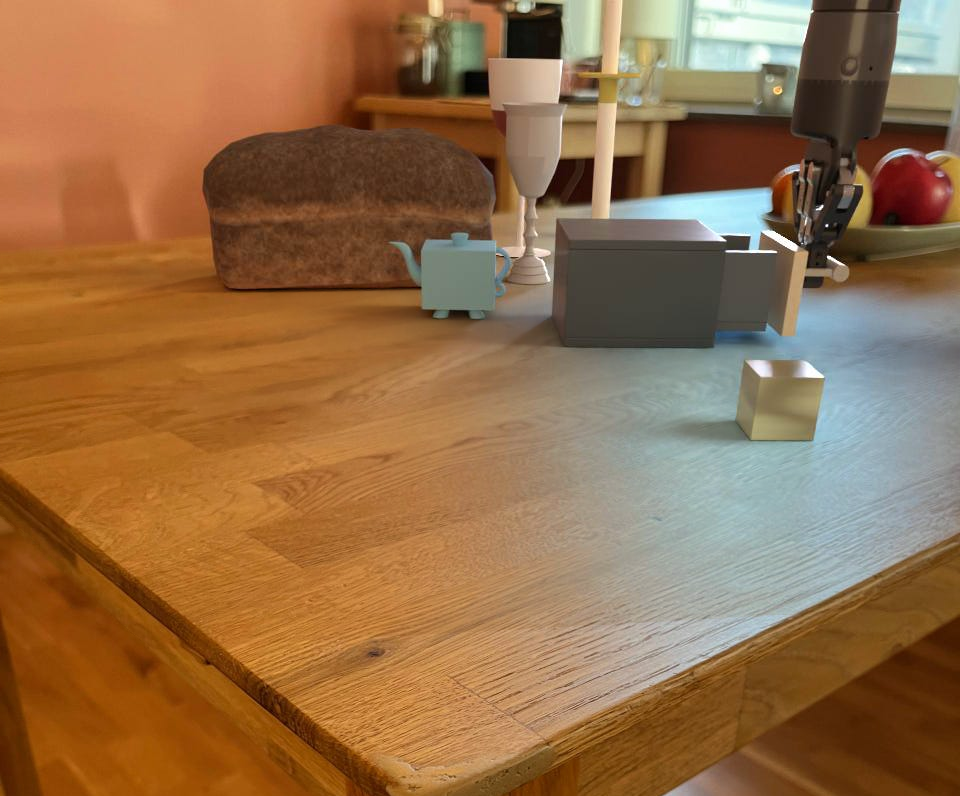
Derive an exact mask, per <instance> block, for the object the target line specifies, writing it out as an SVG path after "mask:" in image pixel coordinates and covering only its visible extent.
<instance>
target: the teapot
mask: <svg viewBox="0 0 960 796" xmlns="http://www.w3.org/2000/svg"><path fill="white" fill-rule="evenodd" d="M451 238H452V240H426V241H425V243H424V245H423V248H422V250H421V267H420V266H419V265H418V264H417V263H416V261H415V259H414V257H413V254H412V251H411V249H410V248H409V246H408V245H407V244H405V243H403V242H389V243H390V244H392V245H394V246H396V247H397V248H398V249H399V250H400V251H401V253H402V254H403V257H404V259H405V262H406V266H407V269H408V272H409V275H410V277H411V278H412V280H413V281H414V282H415V283H416V284H417V285H418V286H420V287H421V310H435V311H434V313H433V315H432V318H434V319H447V318H448V317H449V314H450V311H454V310H455V311H468V316H469V319H472V320H483V319H485V317H486V316H485V314H484V311H496V309H495V308H496V298H501V297H503V296H504V295H505V293H506V286H505V284H504V283H501V282H502V280H503V279H504V278H505V276H506V275H507V273H508V272H509V271H510V268H511V266H512V258H510V255H509V254H508V253H507V251H506V250H504V249H503V248H504V247H500V246H497V240H493V241H488V240H467V239H468V234H467V233H452V234H451ZM496 253H500V254H502V255H503V256H504V257H503V258H505V262H504V263H505V264H504V266H503V268H502V270H501V271H500V273H499V274H498V275H497V256H496ZM497 287H499V288H500V290H499V291H497Z"/></svg>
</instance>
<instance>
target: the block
mask: <svg viewBox="0 0 960 796" xmlns="http://www.w3.org/2000/svg"><path fill="white" fill-rule="evenodd" d="M825 380H826V377H825V376H824V375H823V374H821V372H819V371H818V370H817V369H816V368H815V367H814V366H813V365H812V364H810V362H808V361H807V360H805V359H744V360H743V364H742V372H741V378H740V385H739V393H738V399H737V406H736V414H735V422H736V423H737V424H738V425H739V427H740V428H741V429H742V431H743V433H745V434H746V436H747V438H748V439H749V440H750V441H814V439H815V434H816V429H817V423H818V418H819V412H820V408H821V402H822V398H823V397H822V396H823V391H824V386H825Z"/></svg>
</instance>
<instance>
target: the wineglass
mask: <svg viewBox="0 0 960 796" xmlns="http://www.w3.org/2000/svg"><path fill="white" fill-rule="evenodd" d="M487 60H488V61H487V62H488V63H487V64H488V65H487V66H488V68H487V69H488V92H489V93H488V94H489V102H490V111H491V116H492V119H493V122H494V124H495V127H496V129H497V130H498V131H499V132H500V134H502V136H504V137H505V138H506V118H507V115H506V112H505V110H504V107H503V105H502V103H515V102H531V103H558V104H559V99H560V91H561V83H562V72H563V59H560V58H559V59H558V58H507V57H506V58H505V57H503V58H500V57H499V58H495V57H494V58H491V57H489V58H488V59H487ZM525 199H526V198H525V197H523V196H521V195H520V194H519V193H518V192H517V221H516V245H514V246H506V247H502V248H503V249H504V250H506V251H507V253H508V254H509V255H510V257H519V258H520V257H522V256H523V253H524V252H525V248H526V246H525V245H524V237H523V233H524V225H525V219H524V216H525ZM534 253H535V254H536V255H535V256H536V257H538V258H545V257H547V256H550V255H552V252H551V251H550V250H548V249H543V248H537V247H534ZM496 255H500V256H503V255H502V254H500V253H496Z"/></svg>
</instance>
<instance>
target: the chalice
mask: <svg viewBox="0 0 960 796" xmlns="http://www.w3.org/2000/svg"><path fill="white" fill-rule="evenodd" d="M502 105H503V107H504V110H505V112H506V115H507V118H506V137H505V156H506V160H507V164H508V168H509V172H510V174H511V178H512V180H513V182H514V185H515V188H516V190H517V194H518V193H519V194H520V195H521V196H523V197H525V198H524V199H526V206H527V207H526V209H525V213H524V222H525V225H526V226H525V231H523V239H524V243H525V247H526V248H525V252H524V253H523V256H522V257H520V258H515V260H514V261H513V262H512V267H510V268H511V269H509V271H510V272H509V275H508V276H507V277H506V281H507V282H509V283H513V284H520V285H540V284H541V285H542V284H547V283H549V282H551V278H550V276H549V275H548V269H547V267H546V266H545V265H546V263H545V262H544V260H543V259H542V257H536V256H535V255H536V254H535V253H534V248H535V246H534V245H535V241H536V239H537V237H538V236H539V235H538V234H537V232H536V229H535V225H536V221H537V220H538V215H537V212H536V204H537V199H539V198H540V197H543V196H544V195H545V193H546V191H547V189H548V187H549V185H550V183H551V181H552V179H553V176H554V175H555V173H556V170H557V167H558V163H559V160H560V159H561V149H562V131H563V115H564V113H565V112H566V110H567V107H568V104H567V103H559V102H558V103H531V102H515V103H502Z"/></svg>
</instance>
